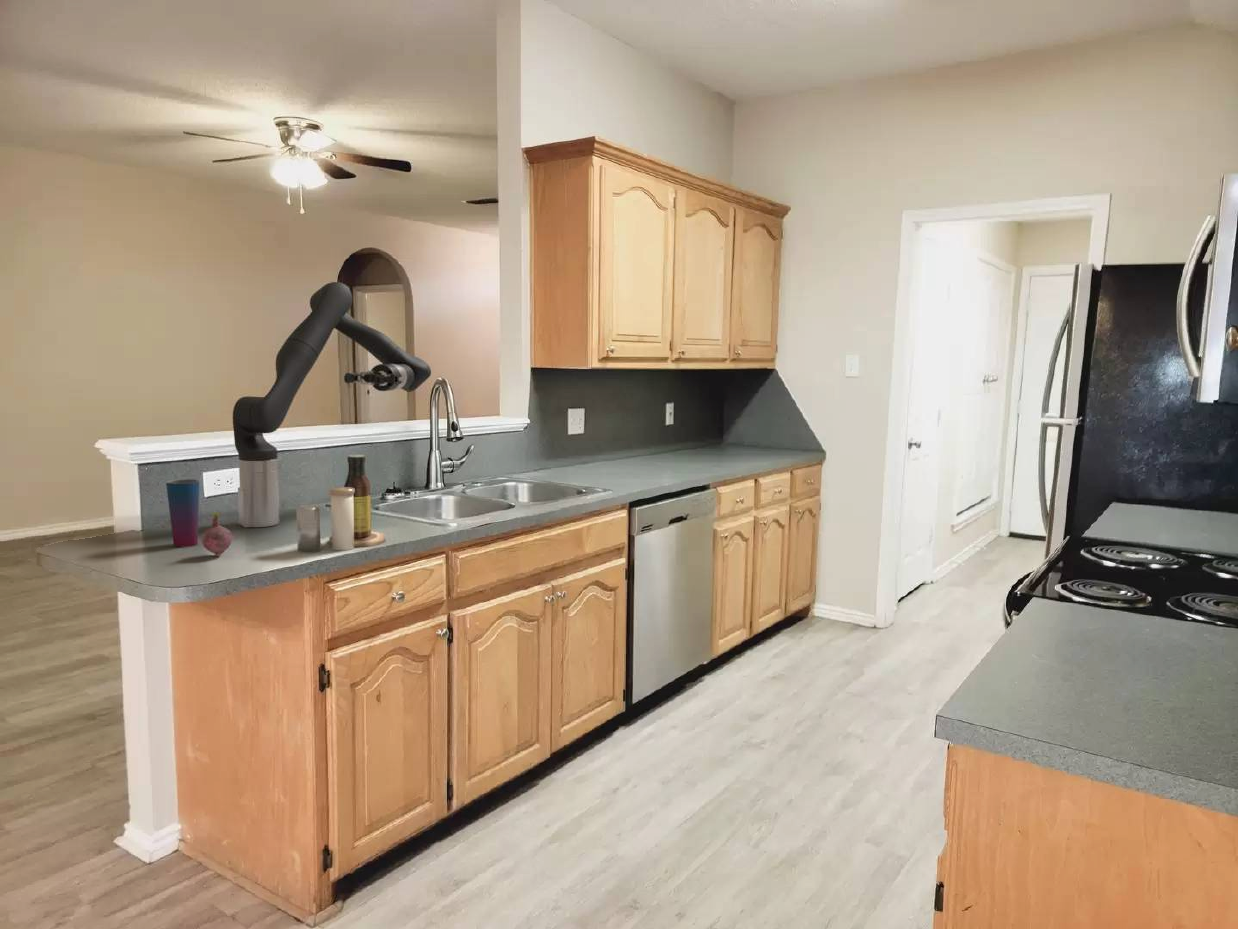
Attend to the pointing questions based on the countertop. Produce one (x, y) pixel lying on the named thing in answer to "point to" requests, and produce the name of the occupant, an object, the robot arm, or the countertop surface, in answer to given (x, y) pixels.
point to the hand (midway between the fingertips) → (360, 379)
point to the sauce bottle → (360, 495)
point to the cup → (184, 510)
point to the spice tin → (308, 528)
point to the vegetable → (217, 537)
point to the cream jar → (342, 518)
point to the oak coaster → (368, 540)
